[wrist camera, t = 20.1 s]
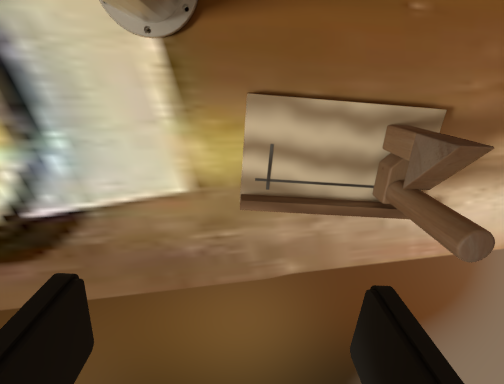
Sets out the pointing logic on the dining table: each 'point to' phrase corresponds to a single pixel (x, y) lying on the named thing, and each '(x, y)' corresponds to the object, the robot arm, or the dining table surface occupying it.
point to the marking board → (320, 154)
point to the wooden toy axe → (430, 186)
